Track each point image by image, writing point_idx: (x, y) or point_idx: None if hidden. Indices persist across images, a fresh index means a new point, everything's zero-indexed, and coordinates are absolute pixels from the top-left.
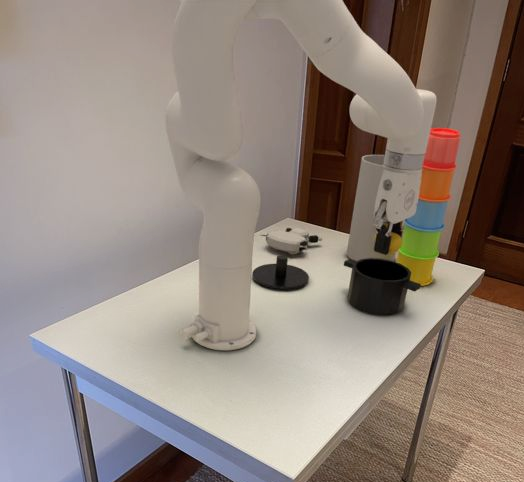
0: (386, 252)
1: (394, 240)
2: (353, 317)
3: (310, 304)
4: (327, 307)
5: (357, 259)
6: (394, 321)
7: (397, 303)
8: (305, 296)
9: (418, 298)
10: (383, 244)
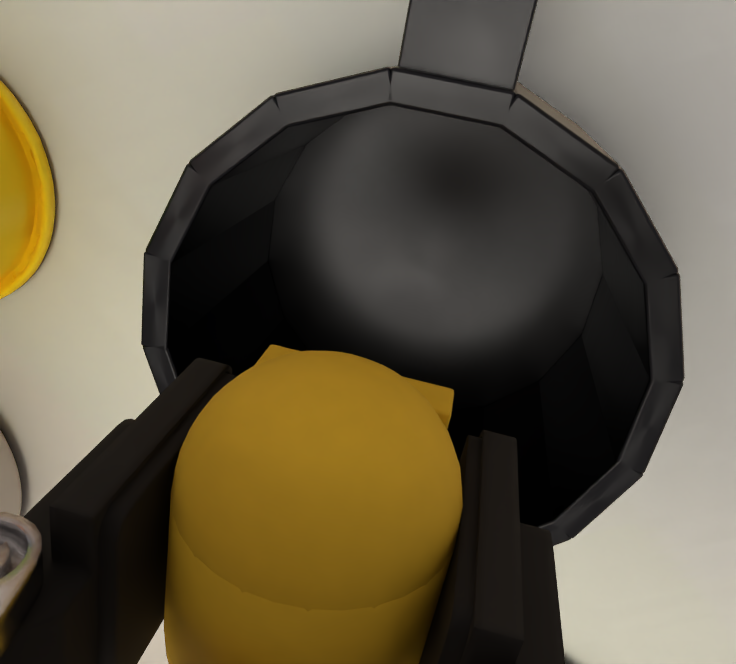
0: (514, 460)
1: (417, 513)
2: (727, 313)
3: (680, 557)
4: (668, 476)
5: (14, 504)
6: (641, 53)
7: (531, 93)
8: (594, 599)
9: (175, 26)
10: (555, 593)
